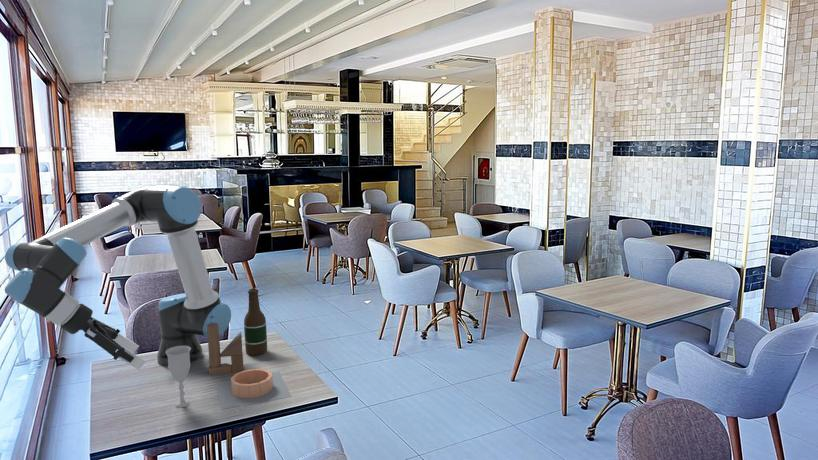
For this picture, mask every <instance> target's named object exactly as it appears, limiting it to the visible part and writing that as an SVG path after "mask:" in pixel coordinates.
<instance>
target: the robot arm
mask: <svg viewBox="0 0 818 460" xmlns="http://www.w3.org/2000/svg"><path fill="white" fill-rule="evenodd" d="M201 211H202V203H201V200H200V197H199V196H198V194H197V193H196V192H195V191H194V190H193V189H191V188H190V187H187V186H180V185H145V186H142V187H139V188H136V189H134V190H131V191H128V192H126V193H124V194H123V195H120V196H118V197H116V198H114V199H112V202H111V204H108V206H104V207H103V208H101V209H98V210H96V211H94V212H92V213H90V214H87V215H86V216H83V217H82V218H79V219H77V220H75V221H73V222H71V223H69V224H66V225H64V226H62V227H60V228H57V229H56V230H53V231H52V232H49V233H47V234H45V235H42V236H41V237H38V238H36V239H34V240H32V241H29V242H20V243H19V242H18V243H14V244H13V245H11V246H10V247H8V248H7V250H6V251H5V255H4V260H5V264H6V265H7V267H9V269H12V270H15V271H19V272H17V273H16V274H15V275H14V276H13V278H11V280H10V281H9V282H7V284H6V286H5V287H4V293H5V294H6V295H7V296H8V297H10V298H12V299H13V300H14V301H15V302H17V303H18V304H20V305H22V306H24V307H26V308H28V309H29V310H31V311H33V312H35V313H36V314H38V315H39V316H41V317H42V318H45V322H46V323H50V322H51V323H53V324H54V325H56V326H60V328H61V329H62V330H64V331H65V332H67V333H69V334H70V335H75V334H77V333H79V331H83V332H84V337H85V338H87V339H88V340H90V341H92V342H93V343H95V344H96V345H98V346H99V347H100V348H101V349H102V350H104V351H106V352H107V353H108V354H110V355H111V356H112V357H113V359H114V360H115V361H116V360H117V359H121V360H122V361H124V362H125V363H126V364H128V365H130V366H132V367H133V368H134V369H136V370H138V371H140V369H141V368H142V367H143V366H144V365H145V364H146V363H147V361H146V360H145V359H144V358H142V357H141V356H139V355H137V354H136V353H135V352H136V351H137V350H138V348H139V347H140V345H138V344H137V343H135V342H134V341H132V340H130V339H129V338H127V337H126V336H124V335H122V334H121V333H120V332H121V330H120V329H119V328H114V327H112V326H110V325H108V324H106V323H104V322H102V321H100V320H98V319H96V318H94V317H92V316H93V313H94V311H93V309H91V308H90V307H88V306H87V305H85V304H84V303H80V301H79V300H78V299H77V298H75V297H74V296H72V295H70V294H68V292H65V291H64V290H62V289H61V287H62V286H63V285H64V284H65V282H66V281H67V280H68V279H69V277H70V276H71V275H72V274H73V273H74V272H75V270H76V269H78V267H80V265H81V263H82V262H83V261H84V259H85V258H86V257H87V250H86V248H85V247H86V246H88V245H90V244H91V243H93V242H95V241H97V240H99V239H101V238H103V237H105V236H107V235H110V233H113V232H115V231H117V230H118V229H121V228H123V227H124V226H126V227H132V226H133V225H136V224H138V223H143V222H157V225H158V228H159V230H160V232H161V233H162V234H164V235H166V236H167V239H168V242H169V245H170V249H171V251H172V255H173V258H174V262H175V264H176V267H177V272H178V275H179V277H180V281H181V284H182V288H183V289H184V293H178V294H173V295H168V296H166V297H163V298H161V299H160V300H159V301H158V310H157V311H158V319H159V330H160V331H159V332H160V338H161V339H160V343H159V348H158V351H157V357H156V358H157V359H156V360H157V363H158V364H160V365H162V366H168V356H167V354H166V353H165V352H166V350H167V349H169V348H172V347H176V346H189V347H191V350H190V352H189V354H190V364H191V363H194V362H196V361H198V360H200V359H201V358H202V357H203V355H204V353H203V347H202V345H201V343H200V340H199V339H198V335H200V336H205V337H207V338H208V335H207V325H208V324H210V323H218V326H219V336H221V335H222V334H224V332H226V331H227V329H228V328H229V325H230V323H231V320H232V319H231V318H232V309H231V307H230V306H229V304H227V303H225V302H221V297H220V295H219V293H218V292H217V291H216V290H213V288H212V283H211V279H210V277H209V273H208V269H207V266H206V263H205V259H204V256H203V253H202V252H203V251H202V250H201V245H200V242H199V239H198V235H197V231H196V226H197V225H198V223H199V221H198V220H199V218H200V216H201Z"/></svg>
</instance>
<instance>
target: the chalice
mask: <svg viewBox="0 0 818 460" xmlns="http://www.w3.org/2000/svg"><path fill="white" fill-rule="evenodd" d="M190 350H191V347H189V346H176V347H172V348H169V349H167V350H166V352H165V353H166V354H167V356H168V370H169V372H170V374H171V376H172V378H173V379H174V381H175V382H178V387H177V388H178V389H179V393H178V395H179V400H178V401H177V402H176V403H175V407H176V408H185V407H188V406H190V401H189V400H187V399H185V397H184V396H185V393H186V392H184V389H185V386H184V384H183V383H184V382H183V381H185V380H186V379H187V376H188V373H189V372H190V368H191V363H190V354H189V352H190ZM176 408H174V409H173V413H176Z"/></svg>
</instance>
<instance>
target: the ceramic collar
mask: <svg viewBox="0 0 818 460" xmlns="http://www.w3.org/2000/svg"><path fill="white" fill-rule="evenodd" d="M272 373H273V372H271V371H270V370H267V369H264V368H263V369H262V368H261V369H260V368H251V369H246V370H243V371H242V372H236V373H235V374H234V375H232V377H230V380H231V390H232V395H234V396H236V397H239V398H254V397H259V396H262V395H265V394H267V393H269V392H270V391H271V390H272V388H273V378H272ZM253 382H258V383H253ZM247 383H252V384H247Z"/></svg>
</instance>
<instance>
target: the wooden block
mask: <svg viewBox="0 0 818 460" xmlns="http://www.w3.org/2000/svg"><path fill="white" fill-rule="evenodd" d="M207 335H208V337H207V345H208V360H209V362H208V363H209V367H208V375H209V376H215V375H221V374H222V375H223V374H231V373H232V374H233V373H239V372H242V371H244V367H245V366H244V353H243V338H242V331H240V332H239V333H238V334H237V335H236V336H235V337H234V338H233V339H232V341H230V343H228V345H227V346H226V347H225V348H224V349H223V350H222V351H221V343H220V335H219V326H218V323H210V324H208V325H207ZM225 357H230V361H231V364H230V363H227V362H226V363H222V359H221V358H225Z"/></svg>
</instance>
